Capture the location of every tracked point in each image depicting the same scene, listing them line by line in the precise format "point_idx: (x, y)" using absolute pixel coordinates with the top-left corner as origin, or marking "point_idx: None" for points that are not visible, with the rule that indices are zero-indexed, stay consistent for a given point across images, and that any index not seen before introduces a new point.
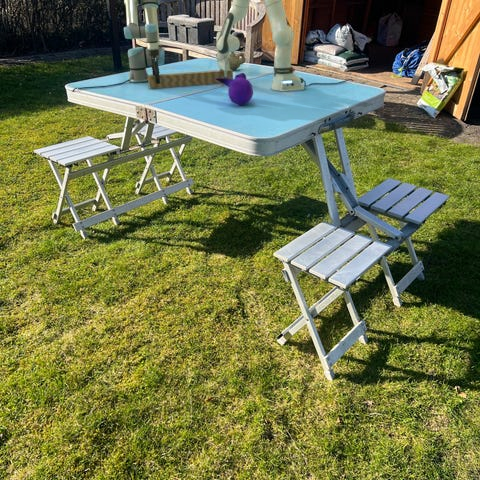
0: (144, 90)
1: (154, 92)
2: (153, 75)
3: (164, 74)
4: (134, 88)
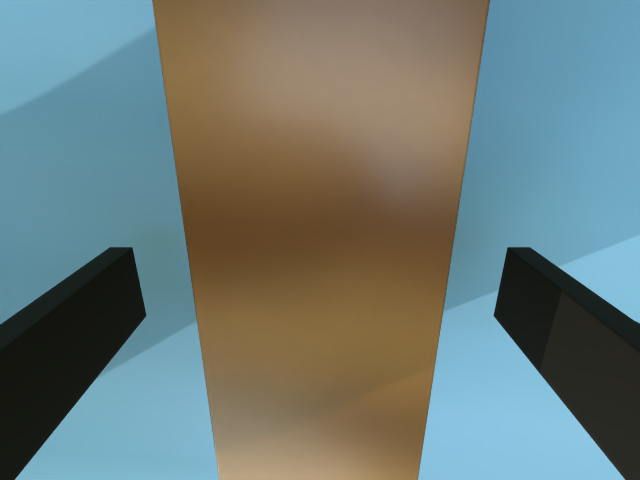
0: None
1: None
2: (300, 420)
3: (254, 92)
4: None
